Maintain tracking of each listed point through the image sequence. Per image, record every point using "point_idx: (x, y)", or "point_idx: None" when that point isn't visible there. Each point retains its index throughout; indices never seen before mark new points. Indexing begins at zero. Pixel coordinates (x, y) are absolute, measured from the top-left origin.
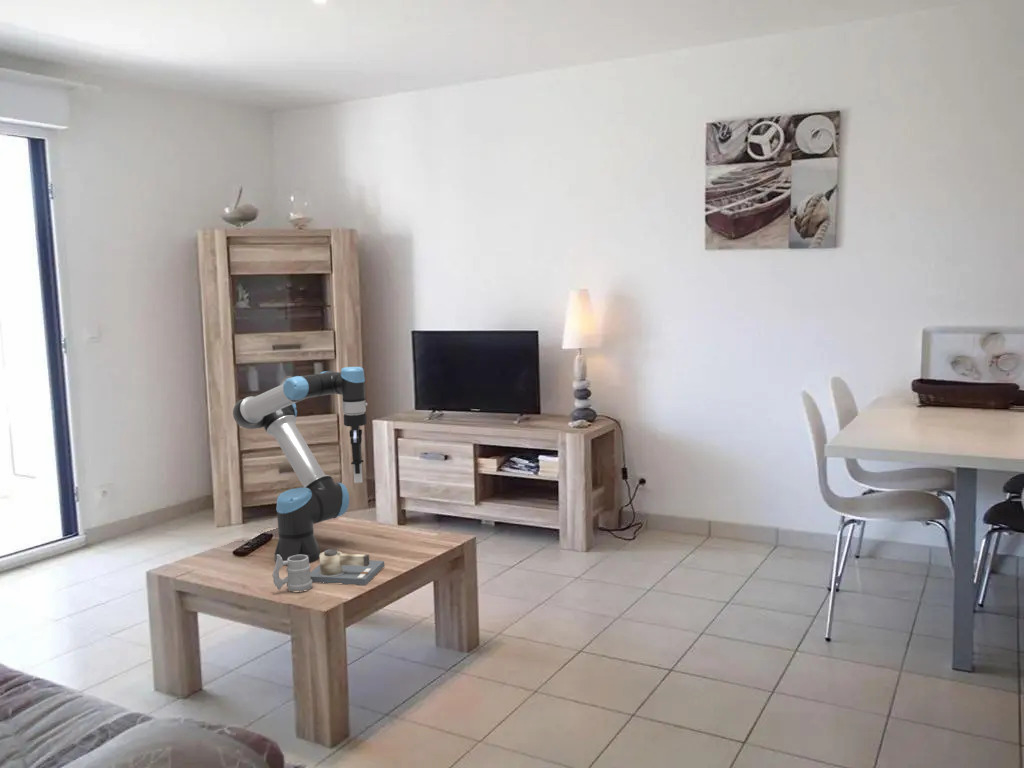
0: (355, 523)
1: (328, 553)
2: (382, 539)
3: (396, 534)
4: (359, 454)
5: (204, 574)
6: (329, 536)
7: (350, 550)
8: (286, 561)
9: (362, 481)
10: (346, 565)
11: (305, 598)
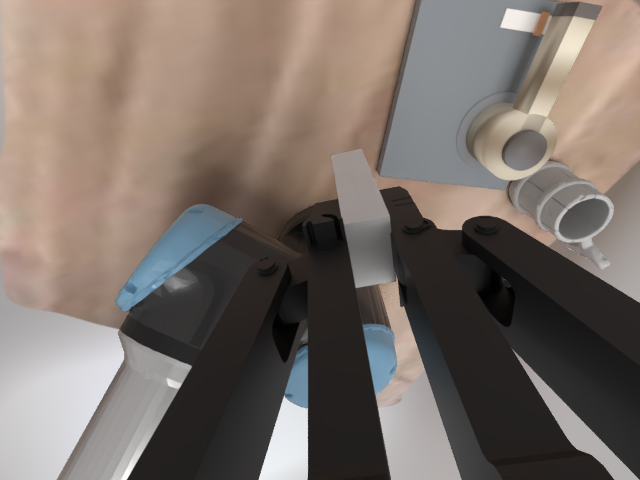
0: (25, 194)
1: (544, 152)
2: (146, 64)
3: (77, 22)
4: (601, 284)
5: (406, 355)
6: (160, 227)
7: (265, 141)
8: (589, 239)
9: (331, 155)
10: (447, 106)
11: (606, 152)
